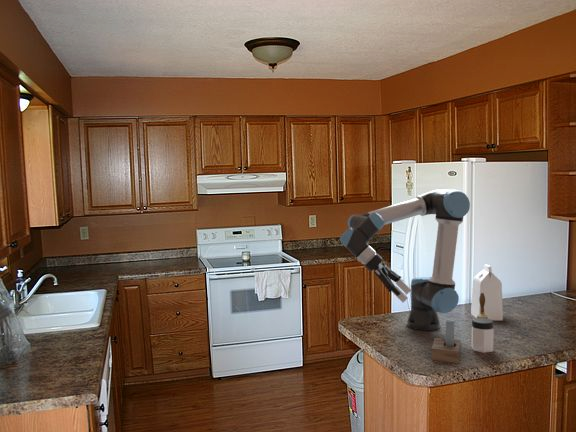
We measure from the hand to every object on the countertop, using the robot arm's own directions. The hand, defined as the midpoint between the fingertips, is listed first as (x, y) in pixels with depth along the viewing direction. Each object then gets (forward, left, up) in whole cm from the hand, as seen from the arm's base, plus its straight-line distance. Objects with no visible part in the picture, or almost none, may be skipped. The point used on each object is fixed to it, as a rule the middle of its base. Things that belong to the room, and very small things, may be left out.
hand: (407, 296), depth 214 cm
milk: (-59, +31, -22) cm, 70 cm away
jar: (-8, +29, -22) cm, 37 cm away
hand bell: (-41, +29, -22) cm, 55 cm away
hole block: (+4, +16, -22) cm, 27 cm away
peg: (+4, +17, -22) cm, 28 cm away
